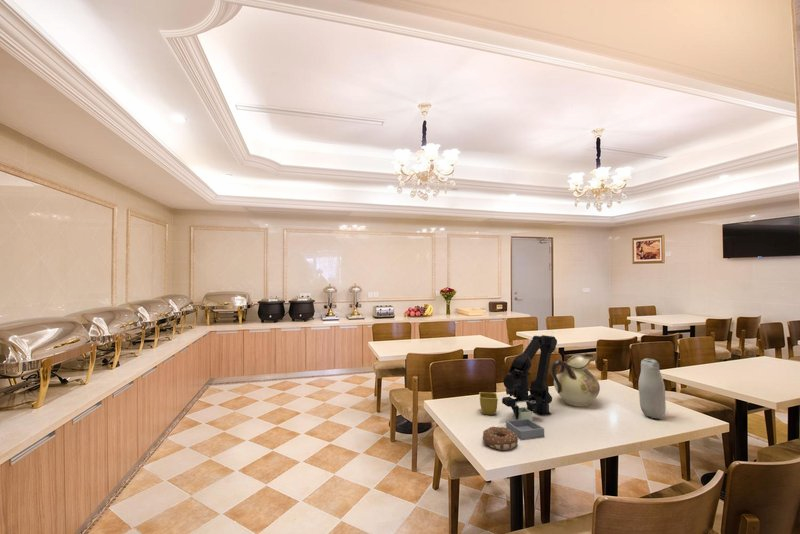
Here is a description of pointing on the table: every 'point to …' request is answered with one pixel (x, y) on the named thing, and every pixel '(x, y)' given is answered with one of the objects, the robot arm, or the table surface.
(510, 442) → the donut
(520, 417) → the small crate
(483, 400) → the flower pot
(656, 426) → the table surface
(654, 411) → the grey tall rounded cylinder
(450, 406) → the table surface
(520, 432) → the big crate
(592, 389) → the pitcher
